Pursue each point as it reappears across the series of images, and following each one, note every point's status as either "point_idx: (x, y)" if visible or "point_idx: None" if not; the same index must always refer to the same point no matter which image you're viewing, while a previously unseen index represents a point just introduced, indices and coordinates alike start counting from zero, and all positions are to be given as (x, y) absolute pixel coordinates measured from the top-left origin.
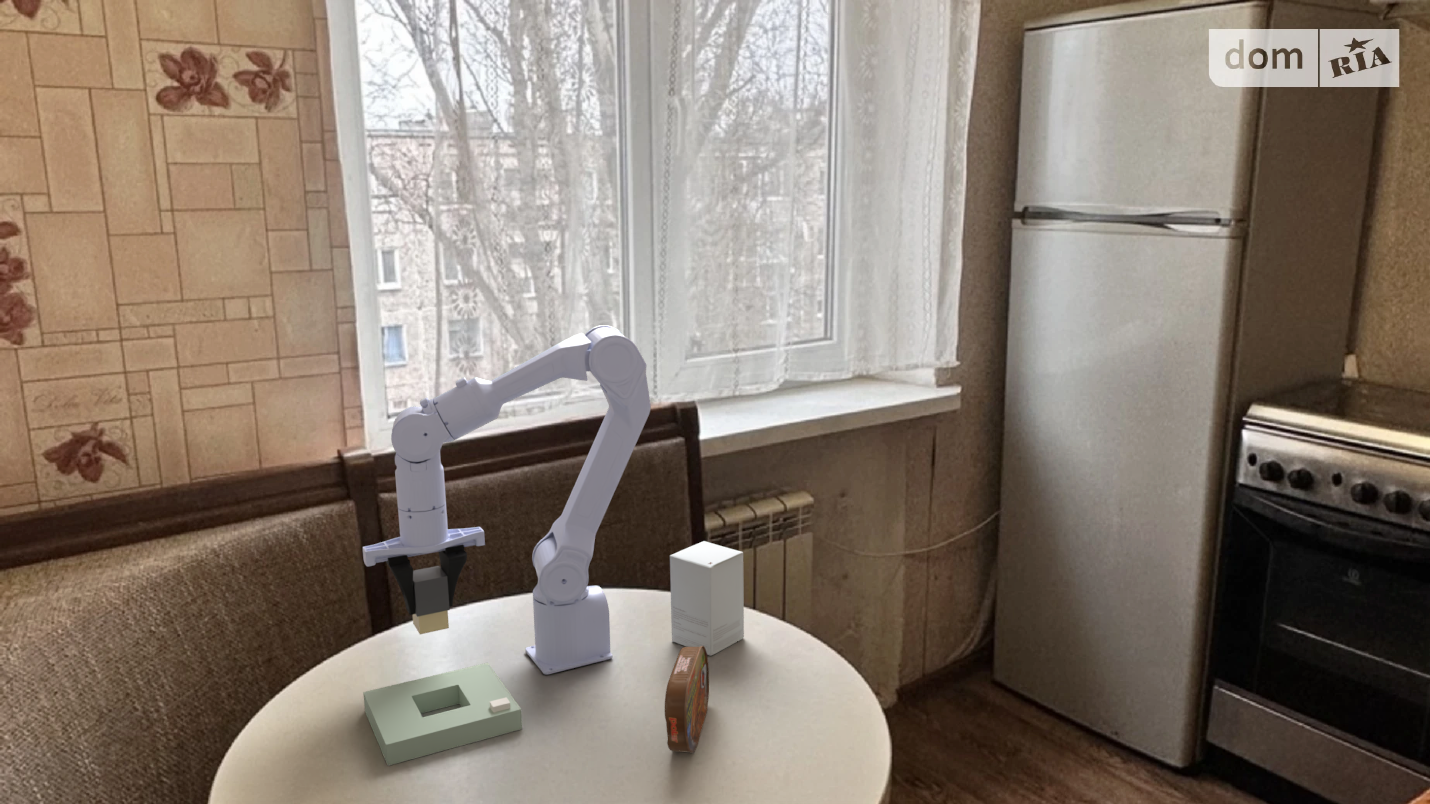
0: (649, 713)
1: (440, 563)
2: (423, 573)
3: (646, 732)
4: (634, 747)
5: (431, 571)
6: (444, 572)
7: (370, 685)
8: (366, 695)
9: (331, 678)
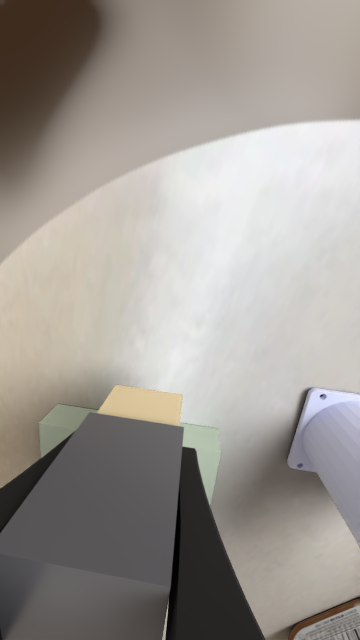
0: (324, 579)
1: (176, 615)
2: (62, 611)
3: (296, 596)
4: (269, 604)
5: (105, 617)
6: (170, 621)
7: (76, 343)
8: (41, 433)
9: (28, 287)
